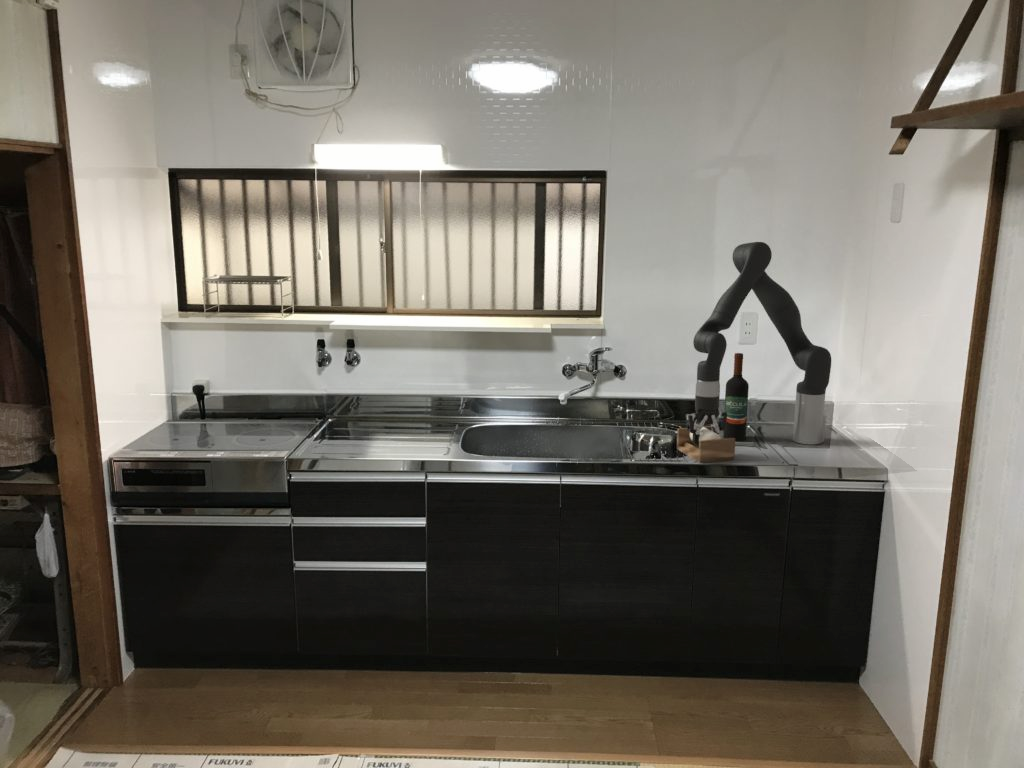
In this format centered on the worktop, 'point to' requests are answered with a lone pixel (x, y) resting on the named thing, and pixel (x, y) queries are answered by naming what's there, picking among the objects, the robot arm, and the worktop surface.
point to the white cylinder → (706, 435)
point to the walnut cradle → (705, 447)
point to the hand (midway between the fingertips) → (705, 443)
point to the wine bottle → (736, 403)
